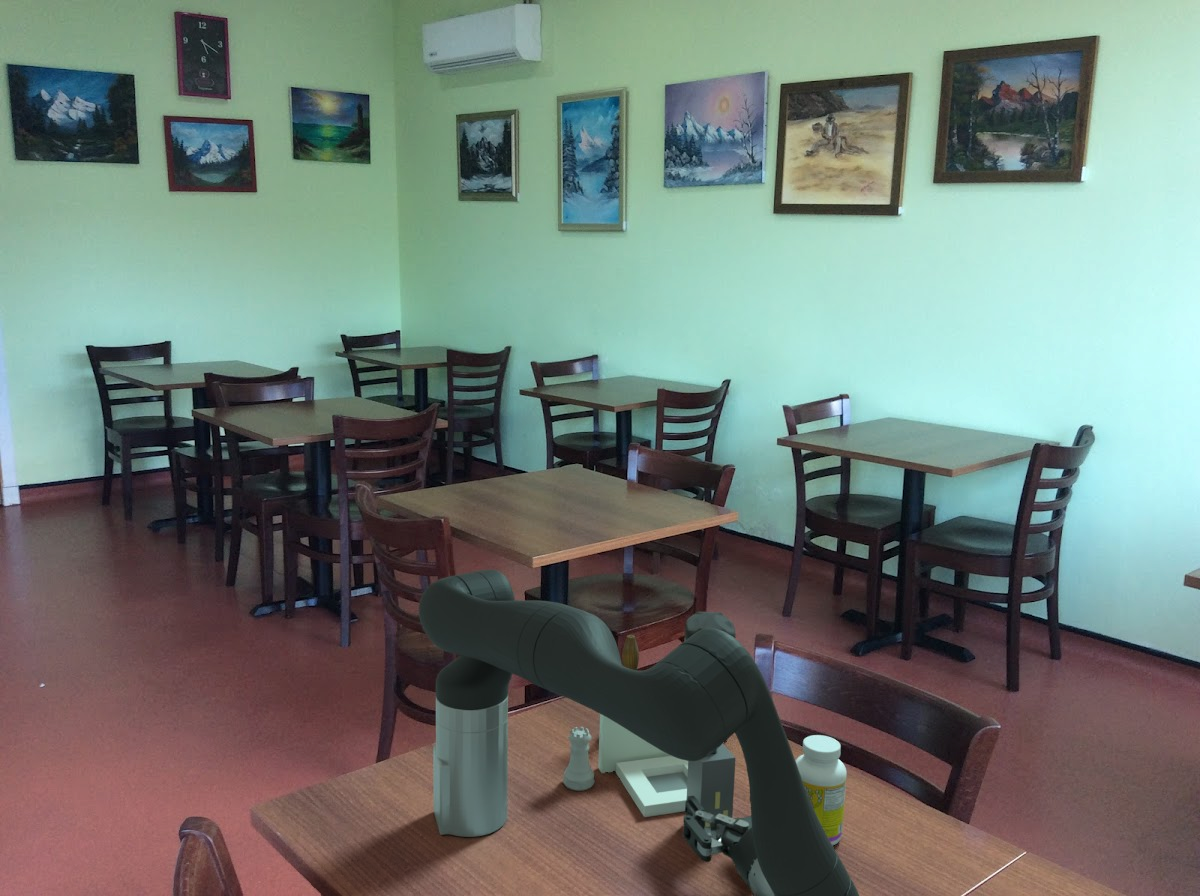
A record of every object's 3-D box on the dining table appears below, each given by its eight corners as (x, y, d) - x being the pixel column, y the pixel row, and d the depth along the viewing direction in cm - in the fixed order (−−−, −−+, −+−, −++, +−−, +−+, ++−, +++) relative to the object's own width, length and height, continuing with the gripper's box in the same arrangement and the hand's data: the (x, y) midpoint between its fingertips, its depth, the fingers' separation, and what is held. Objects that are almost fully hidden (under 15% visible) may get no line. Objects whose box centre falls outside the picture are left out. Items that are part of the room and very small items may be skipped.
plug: (699, 843, 126) (703, 744, 124) (685, 823, 130) (689, 728, 128) (731, 837, 127) (737, 740, 125) (717, 818, 132) (721, 724, 129)
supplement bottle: (778, 827, 130) (784, 735, 128) (821, 817, 133) (827, 727, 130) (808, 855, 124) (815, 759, 122) (852, 844, 127) (859, 750, 124)
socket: (629, 819, 131) (632, 748, 129) (598, 767, 144) (600, 703, 142) (754, 800, 136) (758, 732, 135) (712, 753, 150) (715, 690, 148)
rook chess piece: (557, 788, 138) (558, 734, 137) (570, 773, 143) (571, 721, 141) (587, 795, 137) (588, 740, 135) (599, 780, 141) (600, 727, 139)
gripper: (841, 833, 111) (774, 763, 126) (724, 852, 106) (669, 777, 122) (836, 894, 112) (770, 817, 127) (720, 915, 108) (666, 833, 123)
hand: (721, 798), depth 124 cm, fingers open, 8 cm apart
